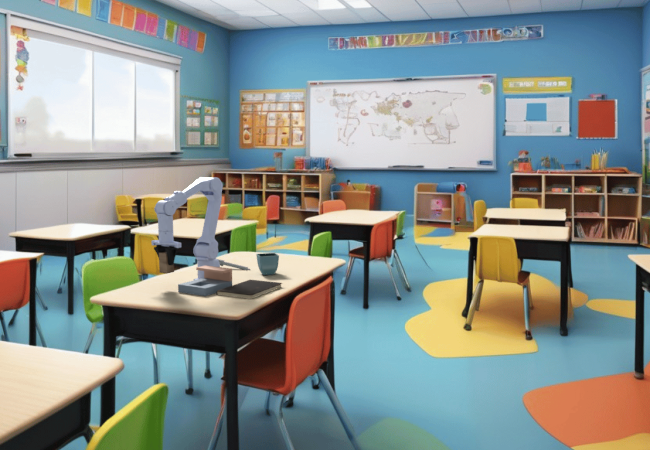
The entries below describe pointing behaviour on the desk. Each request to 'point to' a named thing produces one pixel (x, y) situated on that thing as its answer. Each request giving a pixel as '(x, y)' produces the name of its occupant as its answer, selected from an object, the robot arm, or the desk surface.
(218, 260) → the caliper
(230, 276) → the salmon pink block
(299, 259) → the desk surface
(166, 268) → the walnut peg
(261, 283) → the hardcover book
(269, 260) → the flower pot
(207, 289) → the socket block
